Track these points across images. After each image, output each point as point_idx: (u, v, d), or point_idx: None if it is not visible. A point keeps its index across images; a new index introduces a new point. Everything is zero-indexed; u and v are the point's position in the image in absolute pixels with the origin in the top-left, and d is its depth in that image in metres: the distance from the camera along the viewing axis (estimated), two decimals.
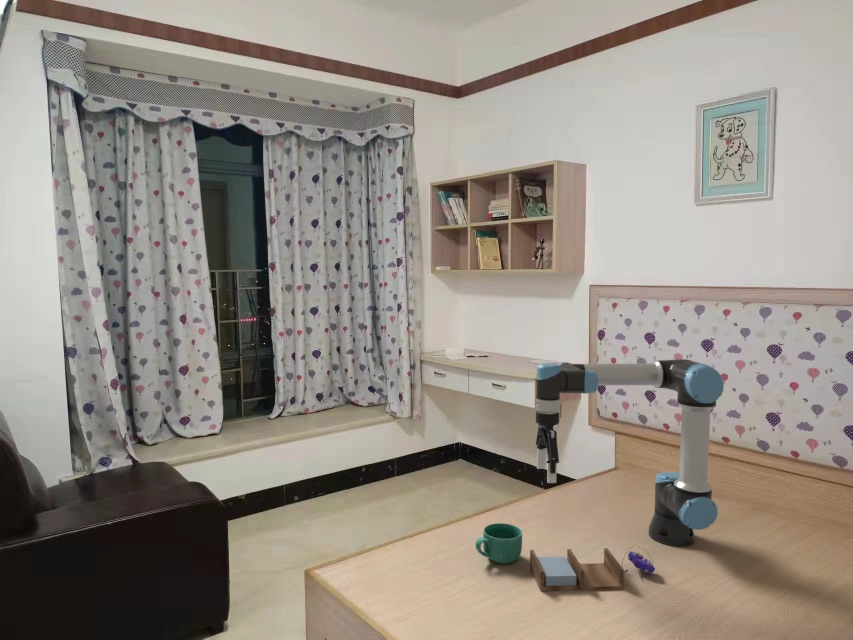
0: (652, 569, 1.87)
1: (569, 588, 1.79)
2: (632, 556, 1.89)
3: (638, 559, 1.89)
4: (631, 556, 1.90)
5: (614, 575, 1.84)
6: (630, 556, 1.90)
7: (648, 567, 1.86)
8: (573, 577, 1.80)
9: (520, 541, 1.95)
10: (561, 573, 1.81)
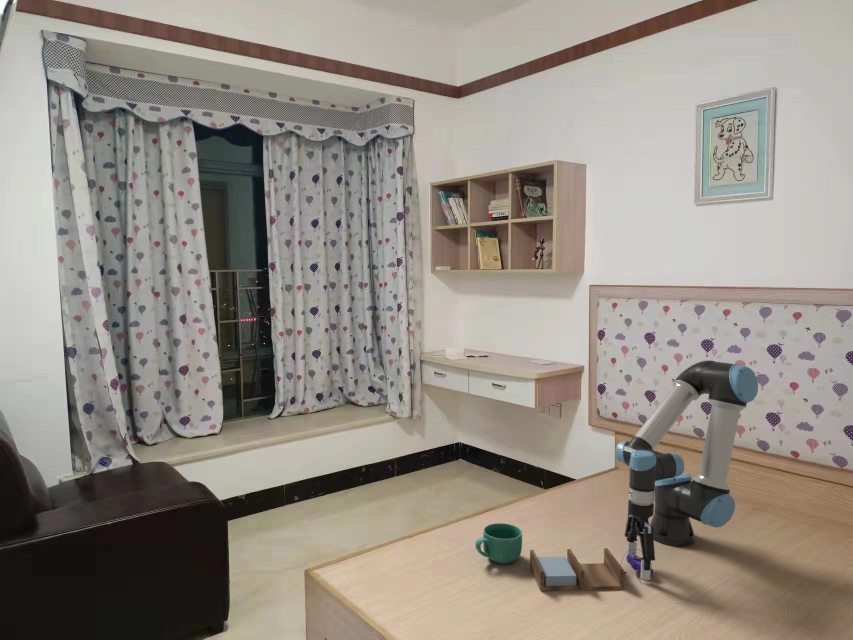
0: (650, 571, 1.86)
1: (569, 588, 1.79)
2: (630, 558, 1.89)
3: (636, 561, 1.88)
4: (629, 558, 1.89)
5: (614, 575, 1.84)
6: (628, 558, 1.89)
7: None
8: (573, 577, 1.80)
9: (520, 541, 1.95)
10: (561, 573, 1.81)
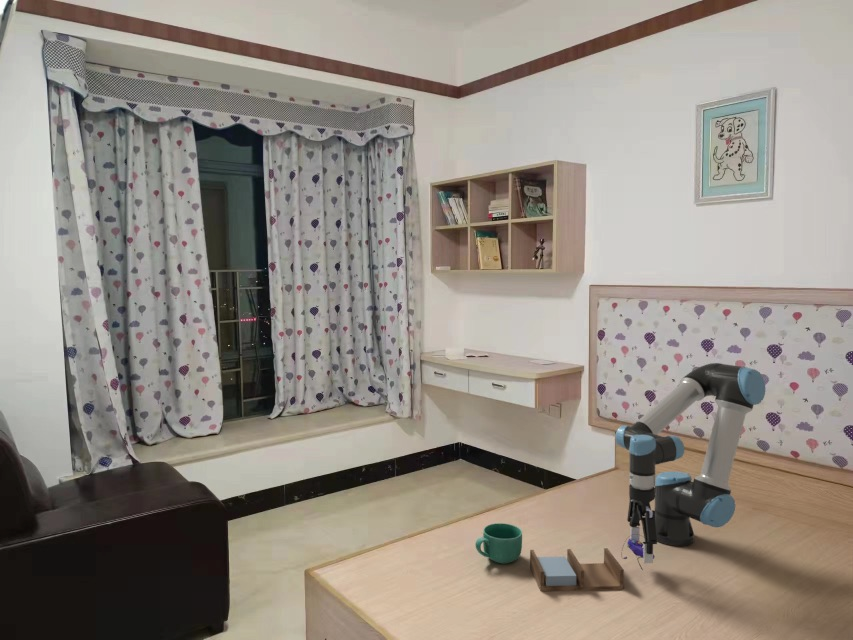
0: None
1: (569, 588, 1.79)
2: (631, 543, 1.89)
3: (637, 546, 1.88)
4: (630, 543, 1.89)
5: (614, 575, 1.84)
6: (629, 543, 1.89)
7: None
8: (573, 577, 1.80)
9: (520, 541, 1.95)
10: (561, 573, 1.81)
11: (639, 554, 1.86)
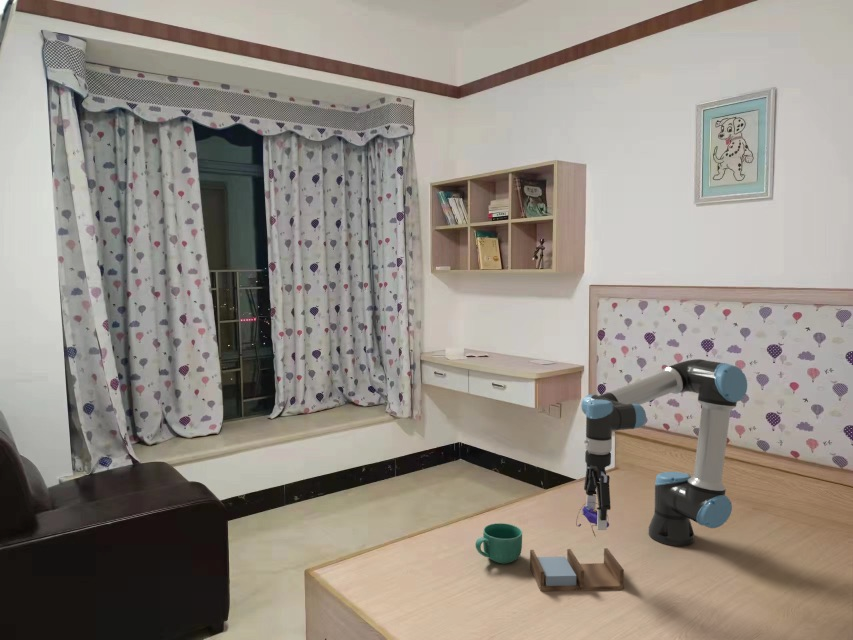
0: None
1: (569, 588, 1.79)
2: (586, 510, 1.85)
3: (592, 513, 1.84)
4: (585, 510, 1.85)
5: (614, 575, 1.84)
6: (584, 510, 1.85)
7: None
8: (573, 577, 1.80)
9: (520, 541, 1.95)
10: (561, 573, 1.81)
11: (593, 521, 1.82)
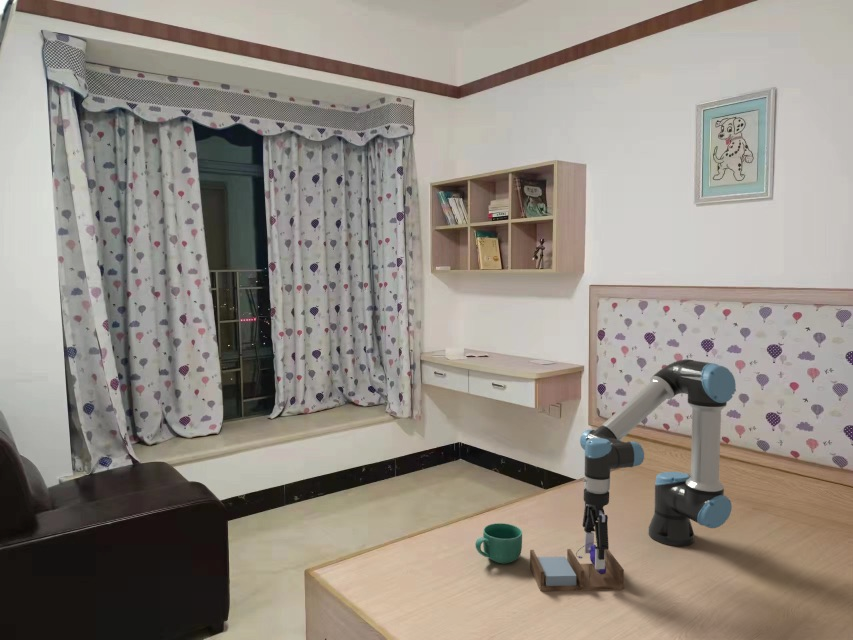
0: (603, 571, 1.82)
1: (569, 588, 1.79)
2: (594, 550, 1.85)
3: None
4: (593, 549, 1.85)
5: (614, 575, 1.84)
6: (592, 548, 1.85)
7: None
8: (573, 577, 1.80)
9: (520, 541, 1.95)
10: (561, 573, 1.81)
11: None
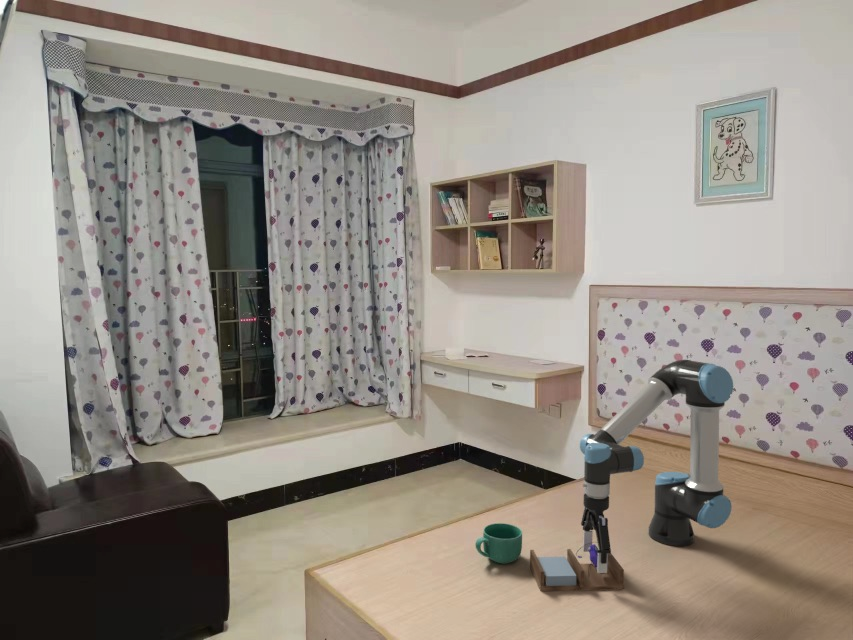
0: None
1: (569, 588, 1.79)
2: (593, 549, 1.85)
3: (597, 555, 1.84)
4: (592, 549, 1.85)
5: (614, 575, 1.84)
6: (591, 548, 1.85)
7: None
8: (573, 577, 1.80)
9: (520, 541, 1.95)
10: (561, 573, 1.81)
11: (594, 562, 1.83)
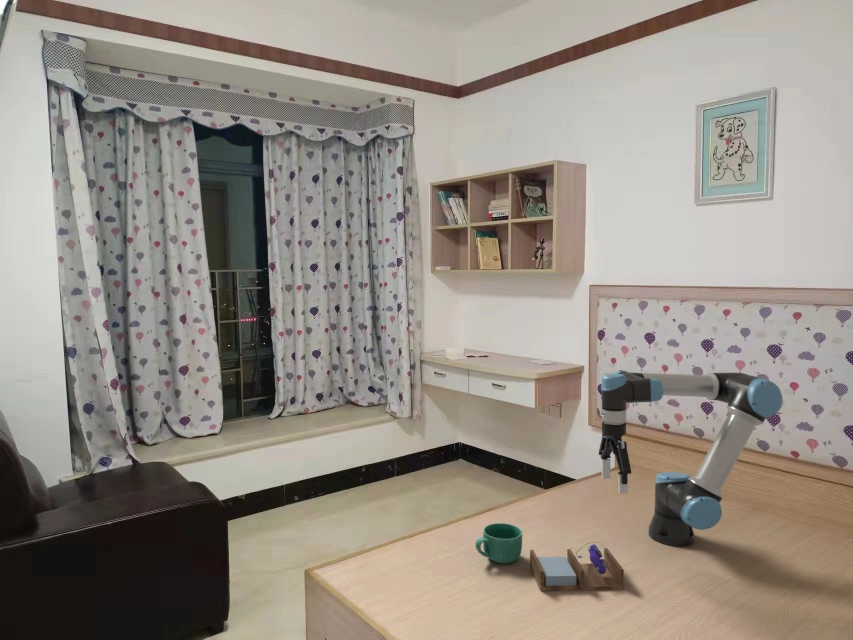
0: (603, 571, 1.83)
1: (569, 588, 1.79)
2: (593, 549, 1.85)
3: (597, 555, 1.84)
4: (592, 549, 1.85)
5: (614, 575, 1.84)
6: (591, 548, 1.85)
7: (601, 567, 1.82)
8: (573, 577, 1.80)
9: (520, 541, 1.95)
10: (561, 573, 1.81)
11: (594, 562, 1.83)
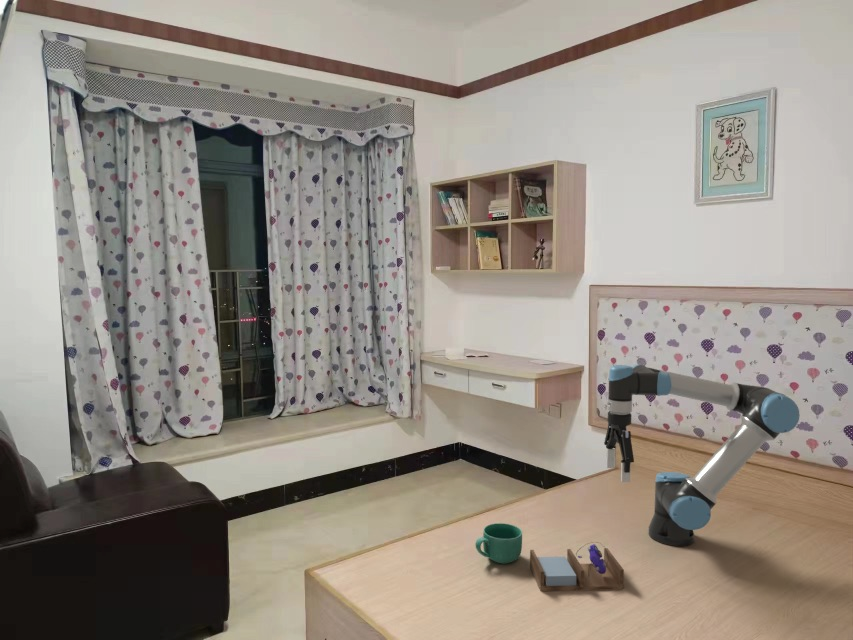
0: (603, 571, 1.83)
1: (569, 588, 1.79)
2: (593, 549, 1.85)
3: (597, 555, 1.84)
4: (592, 549, 1.85)
5: (614, 575, 1.84)
6: (591, 548, 1.85)
7: (601, 567, 1.82)
8: (573, 577, 1.80)
9: (520, 541, 1.95)
10: (561, 573, 1.81)
11: (594, 562, 1.83)
